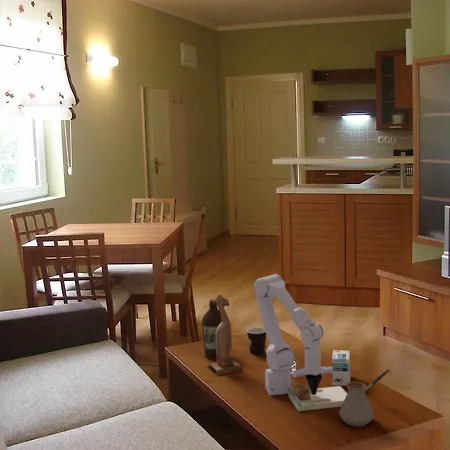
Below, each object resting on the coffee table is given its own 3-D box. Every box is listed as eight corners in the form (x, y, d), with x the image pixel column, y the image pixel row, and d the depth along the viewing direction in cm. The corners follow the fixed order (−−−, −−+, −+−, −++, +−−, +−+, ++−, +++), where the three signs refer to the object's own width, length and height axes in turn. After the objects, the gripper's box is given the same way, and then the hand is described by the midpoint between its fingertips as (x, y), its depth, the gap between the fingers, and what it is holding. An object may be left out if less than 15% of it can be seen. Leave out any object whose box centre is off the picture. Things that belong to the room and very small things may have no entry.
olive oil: (207, 350, 304) (205, 296, 301) (230, 351, 301) (227, 297, 298) (200, 358, 294) (197, 303, 290) (223, 360, 291) (221, 303, 288)
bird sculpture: (243, 371, 278) (242, 295, 274) (217, 376, 273) (216, 299, 269) (231, 363, 288) (229, 290, 284) (206, 368, 283) (204, 293, 279)
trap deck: (298, 411, 237) (298, 401, 236) (288, 396, 250) (288, 387, 249) (352, 405, 240) (352, 395, 240) (340, 391, 253) (340, 382, 252)
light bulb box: (350, 386, 257) (349, 359, 255) (332, 385, 258) (331, 358, 257) (350, 376, 267) (350, 350, 266) (333, 375, 269) (333, 349, 267)
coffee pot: (355, 432, 219) (354, 388, 217) (332, 420, 229) (331, 377, 227) (402, 415, 230) (402, 373, 228) (378, 404, 240) (378, 364, 238)
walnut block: (297, 401, 241) (297, 390, 240) (294, 396, 245) (293, 385, 245) (310, 399, 242) (309, 388, 241) (306, 394, 246) (306, 384, 245)
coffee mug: (267, 355, 295) (266, 333, 294) (247, 355, 295) (247, 333, 294) (266, 346, 307) (265, 325, 305) (247, 347, 307) (246, 325, 305)
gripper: (296, 363, 237) (297, 400, 239) (335, 359, 239) (336, 395, 241) (290, 356, 244) (291, 392, 246) (329, 352, 246) (330, 388, 248)
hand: (313, 393), depth 244 cm, fingers closed
